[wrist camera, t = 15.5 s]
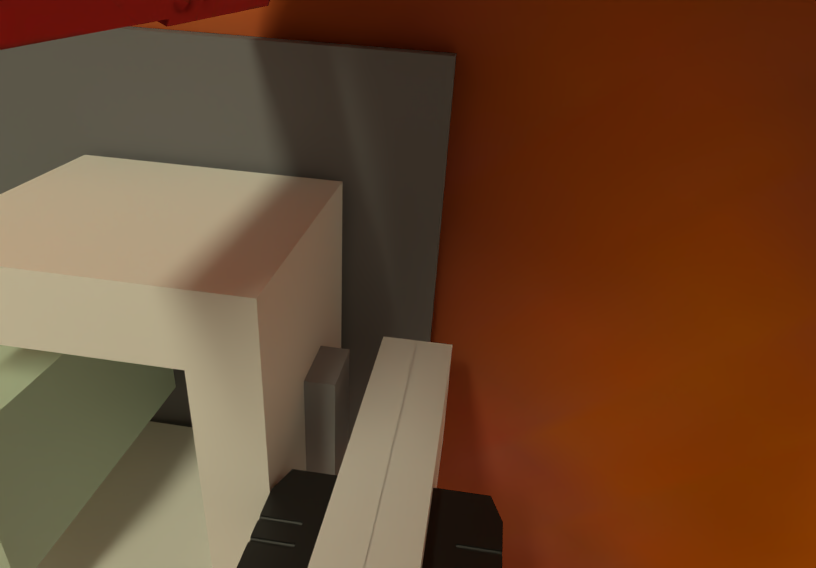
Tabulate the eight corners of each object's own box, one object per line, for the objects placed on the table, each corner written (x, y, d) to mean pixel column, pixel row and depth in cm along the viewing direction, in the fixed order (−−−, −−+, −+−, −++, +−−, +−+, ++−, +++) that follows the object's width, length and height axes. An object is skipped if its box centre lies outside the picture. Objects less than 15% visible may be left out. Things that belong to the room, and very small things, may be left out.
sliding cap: (84, 154, 13) (-122, 251, 9) (370, 184, 13) (299, 304, 8) (144, 457, 18) (23, 623, 13) (361, 490, 17) (310, 677, 13)
